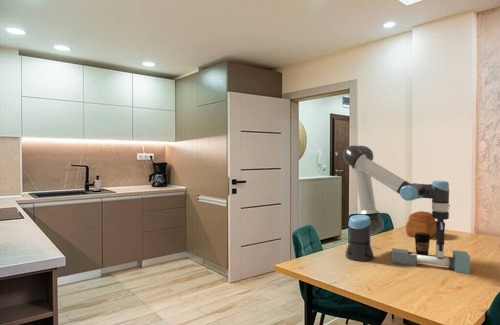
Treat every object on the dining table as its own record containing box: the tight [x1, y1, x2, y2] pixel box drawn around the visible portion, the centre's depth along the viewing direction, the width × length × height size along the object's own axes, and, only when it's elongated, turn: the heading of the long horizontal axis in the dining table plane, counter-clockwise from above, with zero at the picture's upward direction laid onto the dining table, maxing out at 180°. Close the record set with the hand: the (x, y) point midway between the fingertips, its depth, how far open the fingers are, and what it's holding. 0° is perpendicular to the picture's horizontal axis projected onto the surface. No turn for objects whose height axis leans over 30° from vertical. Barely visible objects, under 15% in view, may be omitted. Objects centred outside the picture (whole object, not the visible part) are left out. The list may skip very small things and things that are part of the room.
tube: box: [411, 238, 455, 269], centre depth 168 cm, size 25×6×14 cm, turn 66°
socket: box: [452, 250, 471, 275], centre depth 163 cm, size 6×9×8 cm, turn 156°
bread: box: [405, 210, 437, 238], centre depth 235 cm, size 18×22×17 cm
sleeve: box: [391, 248, 418, 267], centre depth 174 cm, size 12×6×7 cm, turn 66°
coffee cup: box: [414, 232, 432, 256], centre depth 187 cm, size 9×8×13 cm
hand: (439, 255), depth 167 cm, fingers closed on tube, 3 cm apart
